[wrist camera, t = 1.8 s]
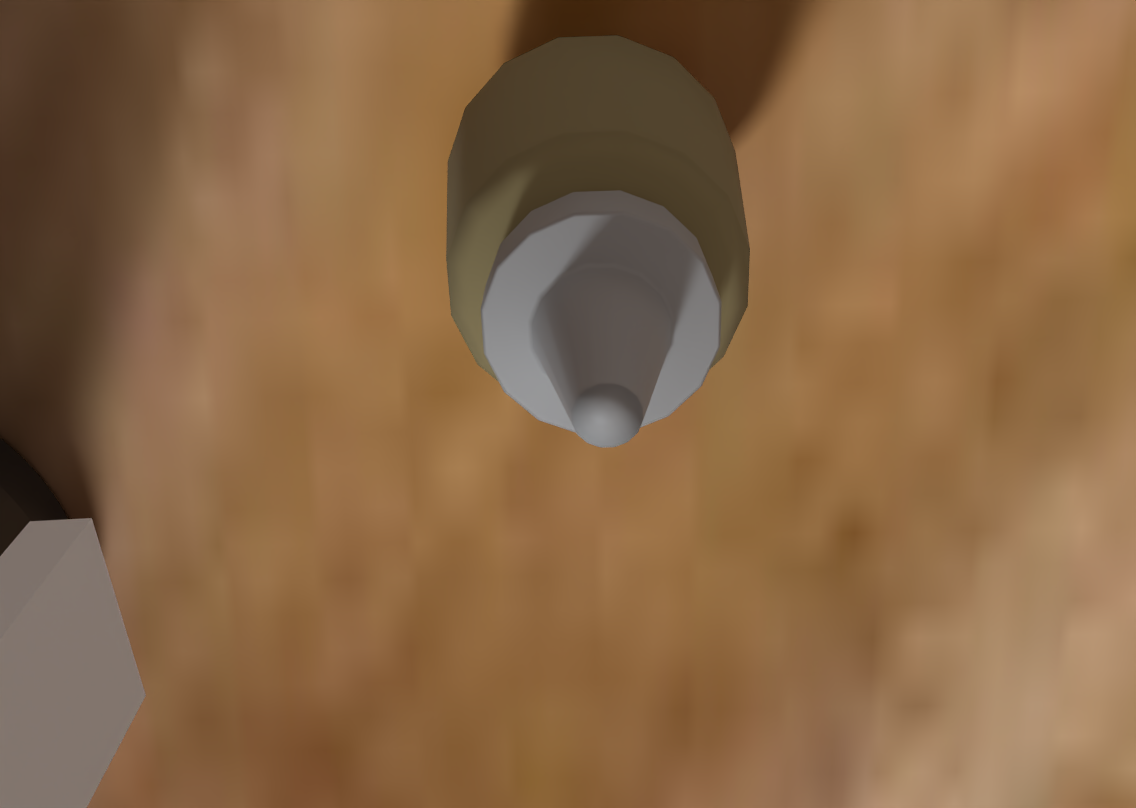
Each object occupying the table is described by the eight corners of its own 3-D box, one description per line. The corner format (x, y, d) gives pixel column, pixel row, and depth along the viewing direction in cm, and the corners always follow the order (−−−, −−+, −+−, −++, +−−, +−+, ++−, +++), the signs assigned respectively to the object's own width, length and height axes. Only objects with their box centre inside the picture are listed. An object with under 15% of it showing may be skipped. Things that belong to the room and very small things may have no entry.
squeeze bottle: (476, -5, 32) (376, 122, 15) (748, 41, 32) (926, 212, 16) (445, 257, 35) (337, 587, 19) (690, 296, 36) (790, 647, 19)
